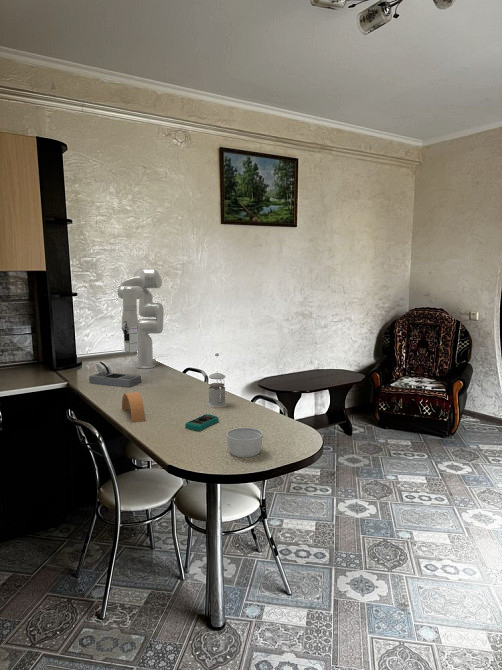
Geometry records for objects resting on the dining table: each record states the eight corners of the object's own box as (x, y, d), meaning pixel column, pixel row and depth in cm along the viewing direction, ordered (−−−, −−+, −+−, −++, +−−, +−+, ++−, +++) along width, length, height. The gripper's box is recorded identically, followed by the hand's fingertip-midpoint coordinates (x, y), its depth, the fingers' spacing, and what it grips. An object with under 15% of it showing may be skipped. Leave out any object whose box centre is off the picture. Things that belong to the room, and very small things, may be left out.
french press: (203, 405, 223) (203, 354, 219) (213, 399, 233) (213, 350, 230) (222, 408, 219) (222, 355, 216) (231, 401, 230) (232, 351, 227)
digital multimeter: (219, 422, 201) (219, 415, 201) (199, 432, 188) (199, 425, 188) (205, 419, 205) (205, 413, 204) (184, 429, 192) (184, 422, 192)
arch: (131, 422, 198) (130, 400, 197) (121, 409, 216) (121, 388, 215) (145, 421, 201) (144, 398, 200) (134, 408, 219) (133, 387, 217)
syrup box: (138, 351, 268) (137, 326, 266) (129, 352, 264) (129, 327, 262) (132, 350, 272) (132, 325, 270) (123, 351, 268) (123, 326, 266)
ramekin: (220, 455, 165) (220, 436, 164) (234, 442, 177) (234, 425, 176) (255, 461, 160) (255, 442, 159) (267, 447, 172) (268, 429, 171)
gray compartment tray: (102, 378, 275) (102, 371, 274) (141, 382, 266) (141, 375, 266) (89, 383, 263) (89, 376, 263) (129, 387, 255) (129, 380, 254)
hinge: (116, 377, 276) (110, 362, 273) (109, 381, 274) (102, 366, 271) (107, 372, 290) (101, 358, 287) (100, 376, 288) (93, 361, 284)
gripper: (132, 307, 274) (133, 337, 276) (115, 309, 257) (116, 341, 260) (143, 307, 272) (144, 337, 274) (127, 310, 255) (128, 342, 258)
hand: (130, 339), depth 267 cm, fingers closed on syrup box, 7 cm apart
